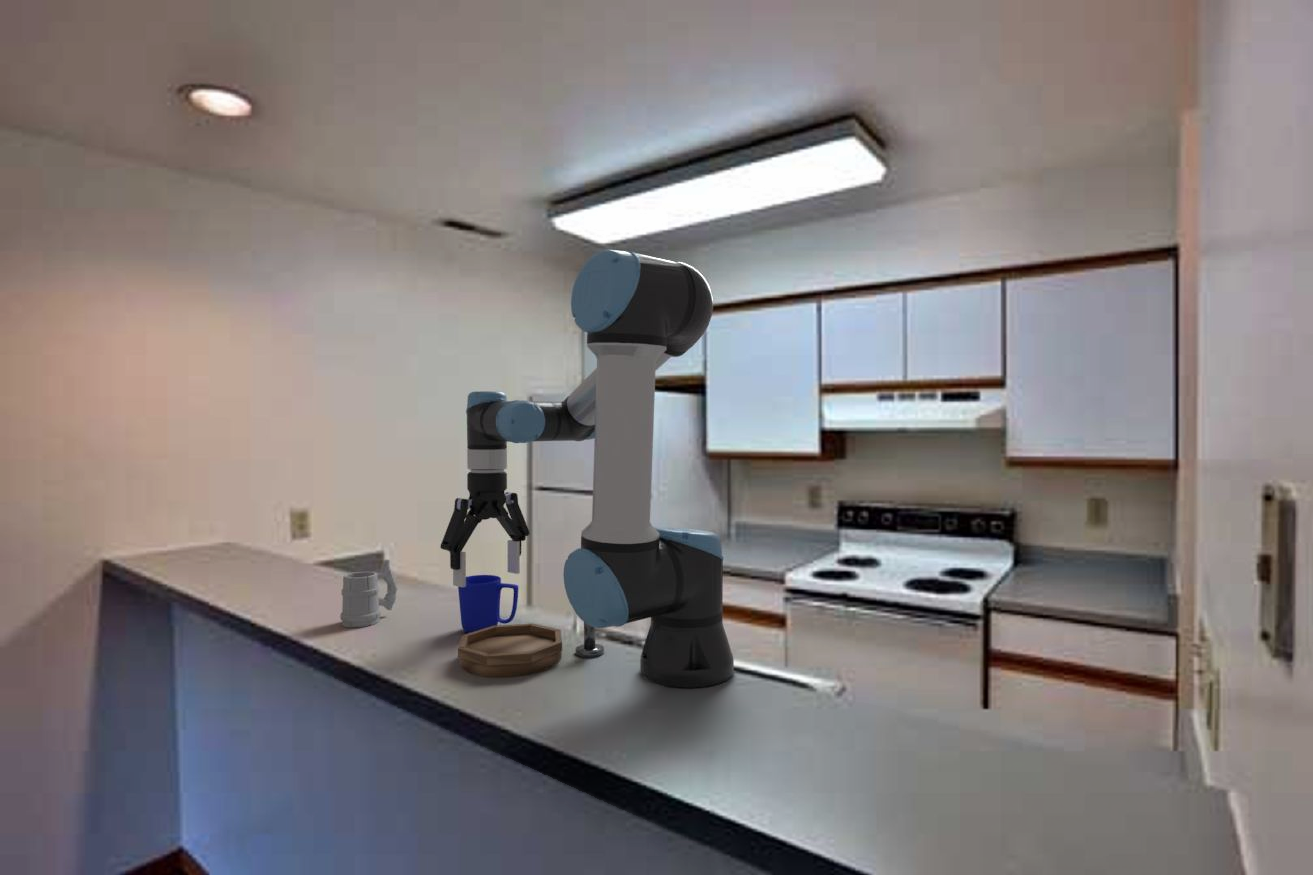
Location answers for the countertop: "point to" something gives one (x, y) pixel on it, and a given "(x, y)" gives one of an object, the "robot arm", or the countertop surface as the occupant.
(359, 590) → the mug
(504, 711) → the countertop surface
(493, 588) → the mug
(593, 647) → the stand rod
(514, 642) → the octagonal wooden tray
